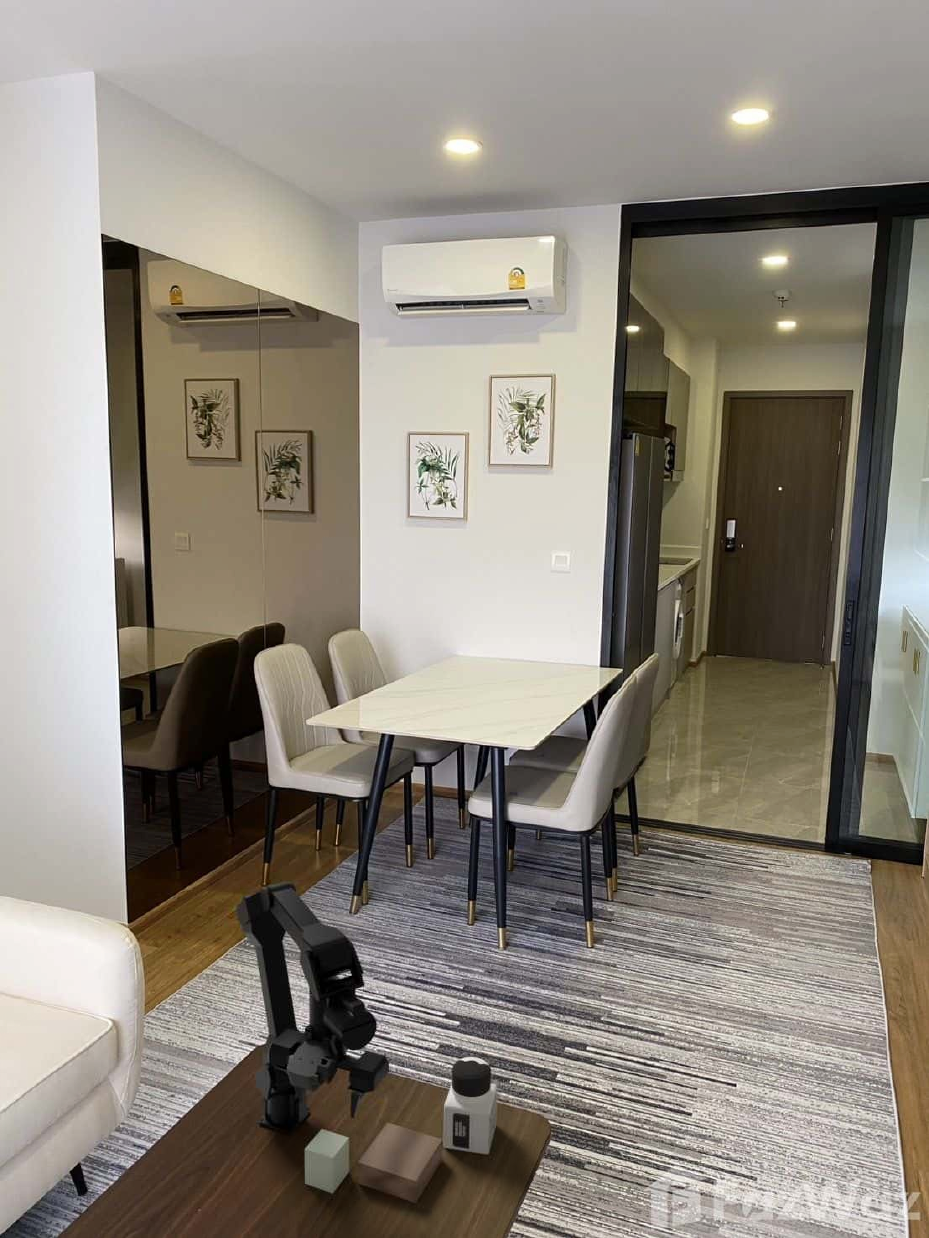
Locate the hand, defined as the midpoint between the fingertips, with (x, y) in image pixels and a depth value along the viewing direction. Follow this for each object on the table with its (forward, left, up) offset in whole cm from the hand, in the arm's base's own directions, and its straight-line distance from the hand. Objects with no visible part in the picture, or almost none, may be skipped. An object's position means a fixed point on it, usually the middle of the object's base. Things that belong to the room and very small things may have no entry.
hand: (327, 1108), depth 144 cm
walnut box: (+10, +6, -12) cm, 17 cm away
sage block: (0, 0, -12) cm, 12 cm away
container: (+17, +18, -12) cm, 27 cm away
